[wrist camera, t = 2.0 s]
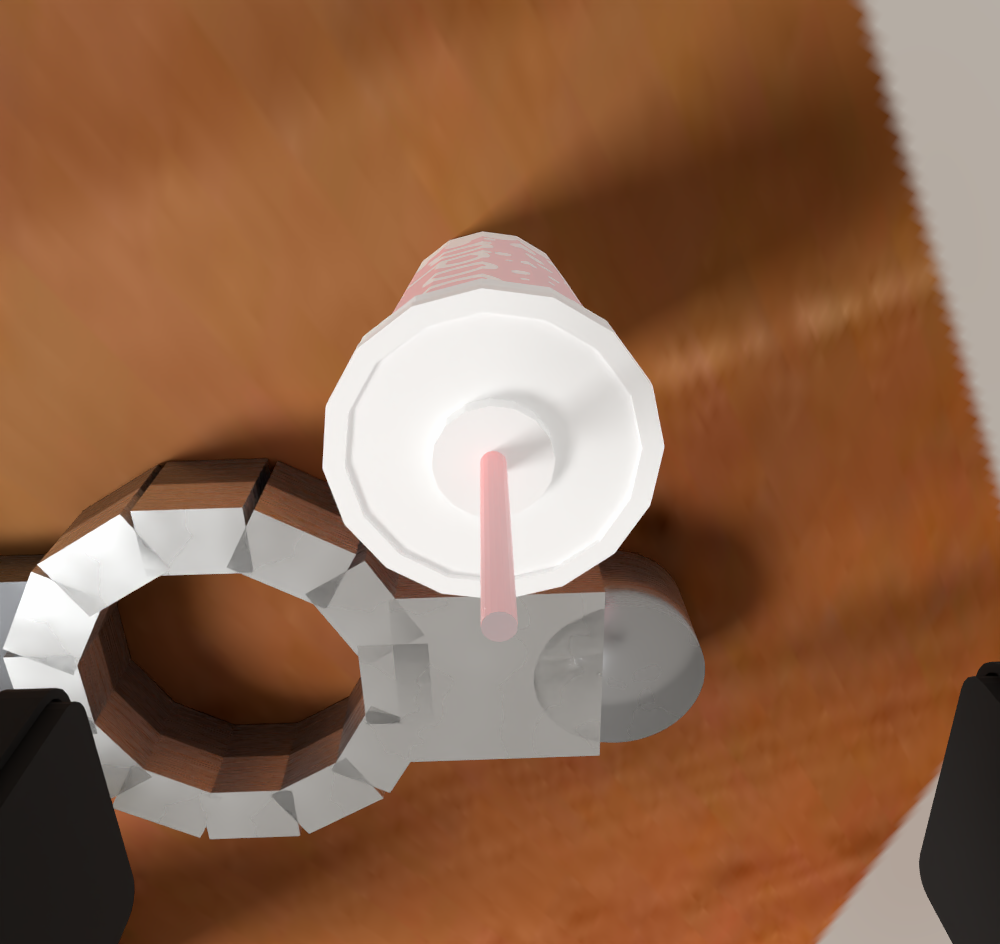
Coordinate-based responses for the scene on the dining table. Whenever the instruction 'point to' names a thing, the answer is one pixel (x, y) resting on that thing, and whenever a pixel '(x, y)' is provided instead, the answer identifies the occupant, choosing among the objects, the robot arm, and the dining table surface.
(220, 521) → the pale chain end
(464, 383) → the beverage cup
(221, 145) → the dining table surface
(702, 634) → the dining table surface
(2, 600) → the dark grey ring piece
